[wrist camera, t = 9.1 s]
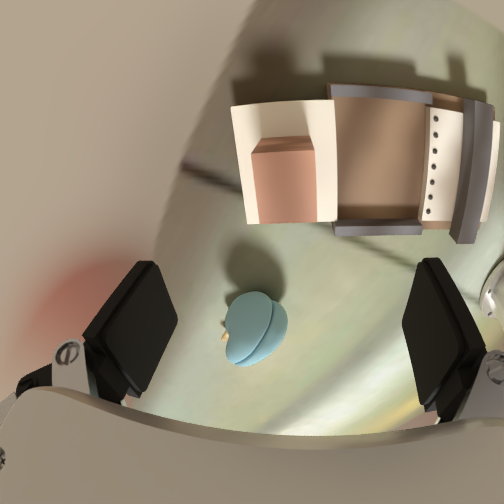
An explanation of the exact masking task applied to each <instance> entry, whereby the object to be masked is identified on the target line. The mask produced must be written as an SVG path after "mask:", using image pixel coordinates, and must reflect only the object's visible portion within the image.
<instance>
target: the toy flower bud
mask: <svg viewBox="0 0 504 504" xmlns="http://www.w3.org/2000/svg"><path fill="white" fill-rule="evenodd" d="M287 324H288V319H287V314H286V311H285V309H284V308H283V307H282V306H281V305H280V304H279V303H278V302H276V301H274V300H271V299H270V298H269V297H268V296H267V295H266V294H264V293H262V292H259V291H252V292H248V293H244V294H242V295H240V296H238V297H237V298H236V299H234V301H233V302H232V303H231V305H230V307H229V309H228V312H227V314H226V318H225V328H226V331H225V332H224V334H223V336H222V338H221V340H222V341H224V342H225V341H227V339H228V341H227V345H226V356H227V358H228V360H229V361H230V362H231V363H235V365H237V366H243V367H244V366H250V365H253V364H255V363H257V362H259V361H261V360H262V359H264V358H266V357H267V356H269V355H270V354H271V353H272V352H273V351H274V350H275V349H276V348H277V347H278V346H279V345H280V343H281V342H282V340H283V338H284V336H285V334H286V330H287Z"/></svg>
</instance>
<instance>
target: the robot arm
mask: <svg viewBox="0 0 504 504" xmlns="http://www.w3.org/2000/svg"><path fill="white" fill-rule="evenodd" d="M480 307H481V310H482V312H483V313H484V315H485V316H486V317H488V318H497V320H498V322H499V323H500V325H501V327H502V329H503V331H504V259H503V260H502V261H501V262H500V263H499V264H498V265H497V267H496V268H495V269H494V270H493V272H492V273H491V274H490V276H489V277H488V279H487V281H486V283H485V285H484V287H483V289H482V293H481V296H480ZM177 322H178V318H177V314H176V312H175V309H174V306H173V304H172V301H171V299H170V296H169V293H168V291H167V288H166V285H165V283H164V280H163V277H162V274H161V272H160V269H159V266H158V265H155V263H154V262H153V261H138V262H137V263H136V264H135V265H134V267H133V268H132V269H131V270H130V271H129V273H128V274H127V275H126V277H125V278H124V279H123V280H122V282H121V283H120V284H119V286H118V287H117V288H116V289H115V291H114V292H113V293H112V295H111V296H110V297H109V298H108V300H107V301H106V303H105V304H104V305H103V306H102V308H101V309H100V311H99V312H98V313H97V315H96V316H95V318H94V319H93V320H92V322H91V323H90V324H89V326H88V327H87V329H86V330H85V331H84V333H83V335H82V336H83V337H84V339H85V340H86V341H85V342H84V343H82V342H81V340H79V339H76V338H74V339H73V338H72V339H68V340H66V341H64V342H62V343H61V344H60V345H59V346H58V347H57V348H56V349H55V352H54V353H53V357H52V363H51V364H49V365H47V366H44V367H42V368H40V369H38V370H36V371H34V372H32V373H29V374H27V375H26V376H24V377H23V378H21V380H20V381H19V383H18V385H17V388H16V393H15V392H13V393H12V394H10V395H9V396H8V397H7V398H6V399H5V400H3V401H2V402H1V403H0V504H504V352H503V351H500V350H493V351H490V352H488V353H487V351H486V348H485V347H486V345H485V343H484V341H483V338H482V336H481V334H480V332H479V330H478V327H477V325H476V323H475V321H474V319H473V317H472V315H471V313H470V311H469V309H468V307H467V305H466V303H465V301H464V299H463V298H462V296H461V294H460V292H459V290H458V288H457V287H456V285H455V283H454V281H453V280H452V278H451V276H450V274H449V273H448V271H447V269H446V268H445V266H444V265H443V263H442V261H441V260H440V259H439V258H424V259H423V260H422V262H419V263H418V265H417V269H416V273H415V277H414V281H413V284H412V288H411V292H410V295H409V299H408V302H407V305H406V309H405V312H404V315H403V318H402V328H403V332H404V335H405V339H406V343H407V347H408V351H409V355H410V359H411V363H412V368H413V372H414V377H415V382H416V387H417V392H418V397H419V402H420V404H421V405H424V409H425V412H430V411H435V410H437V414H438V419H437V421H436V422H435V424H434V425H431V426H425V427H419V428H413V429H406V430H399V431H391V432H382V433H373V434H361V435H344V436H290V435H272V434H260V433H250V432H241V431H233V430H226V429H219V428H213V427H207V426H202V425H196V424H191V423H186V422H182V421H177V420H173V419H168V418H164V417H160V416H156V415H153V414H149V413H145V412H142V411H138V410H135V409H132V408H128V407H127V405H126V402H125V398H124V397H125V395H126V393H127V394H128V395H129V396H133V397H136V398H140V396H141V394H142V392H145V391H146V389H147V388H148V385H149V383H150V381H151V379H152V376H153V374H154V372H155V370H156V368H157V366H158V363H159V361H160V359H161V357H162V355H163V353H164V351H165V348H166V346H167V344H168V342H169V340H170V338H171V336H172V334H173V332H174V329H175V327H176V325H177Z"/></svg>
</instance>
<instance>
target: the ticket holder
mask: <svg viewBox="0 0 504 504" xmlns="http://www.w3.org/2000/svg"><path fill="white" fill-rule="evenodd" d="M326 88H327V99H328V100H334V108H335V124H336V144H337V221H332V227H333V230H334V234H335V236H374V235H421V234H422V229H450V232H449V234H450V236H451V237H452V238H453V239H454V241H455V242H456V243H457V244H474V242H475V239H476V235H477V231H478V229H479V228H480V224H481V222H486V221H487V217H488V213H489V208H490V204H491V198H492V193H493V188H494V181H495V175H496V168H497V159H498V149H499V136H500V122H497V121H495V107H493V105H490V104H487V103H484V102H480V101H477V100H472V99H467V98H460V97H456V96H451V95H446V94H441V93H436V92H430V91H424V90H418V89H411V88H403V87H395V86H385V85H372V84H354V83H326Z"/></svg>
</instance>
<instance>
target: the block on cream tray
mask: <svg viewBox="0 0 504 504" xmlns="http://www.w3.org/2000/svg"><path fill="white" fill-rule="evenodd" d="M231 114H232V121H233V128H234V134H235V141H236V148H237V155H238V162H239V169H240V176H241V183H242V190H243V197H244V204H245V211H246V218H247V224H273V223H303V222H328V221H337V144H336V124H335V108H334V100H297V101H280V102H267V103H257V104H248V105H239V106H232V107H231Z"/></svg>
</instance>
